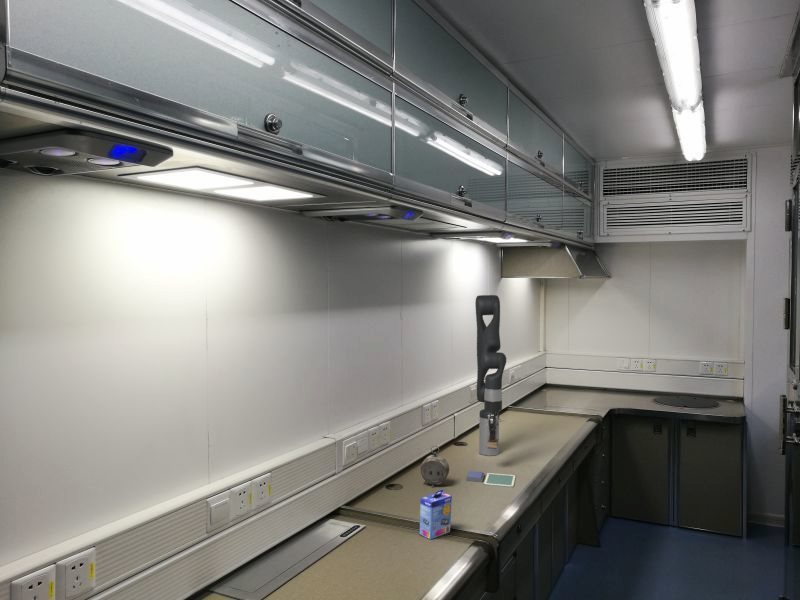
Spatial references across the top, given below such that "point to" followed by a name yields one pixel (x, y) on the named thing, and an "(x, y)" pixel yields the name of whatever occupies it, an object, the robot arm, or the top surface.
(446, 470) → the alarm clock
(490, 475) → the green white framed board
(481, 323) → the robot arm
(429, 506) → the ink cartridge box
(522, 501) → the top surface
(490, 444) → the stamp
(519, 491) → the top surface
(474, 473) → the ink pad
